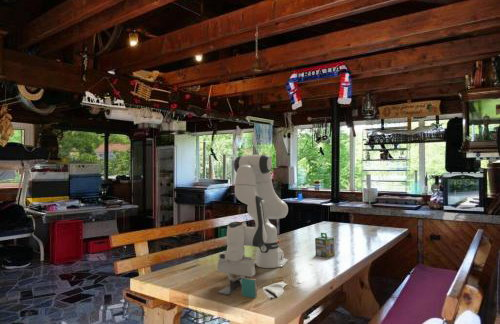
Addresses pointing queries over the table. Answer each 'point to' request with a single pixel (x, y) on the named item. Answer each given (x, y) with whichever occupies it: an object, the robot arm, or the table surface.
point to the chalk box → (324, 246)
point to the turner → (231, 287)
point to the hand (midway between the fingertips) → (236, 283)
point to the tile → (249, 287)
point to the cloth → (274, 289)
